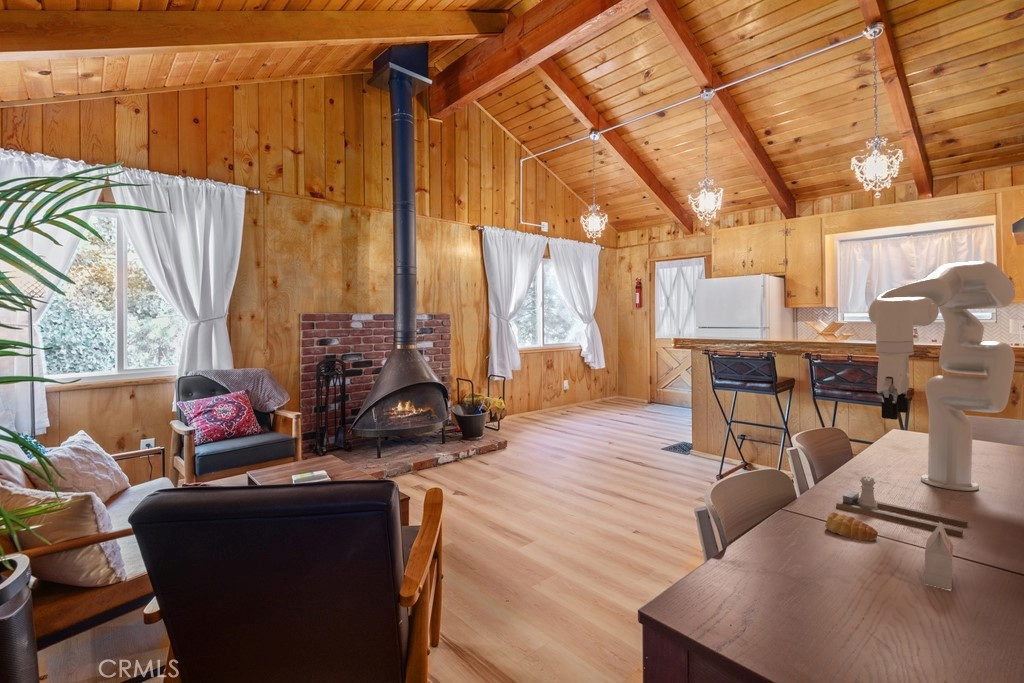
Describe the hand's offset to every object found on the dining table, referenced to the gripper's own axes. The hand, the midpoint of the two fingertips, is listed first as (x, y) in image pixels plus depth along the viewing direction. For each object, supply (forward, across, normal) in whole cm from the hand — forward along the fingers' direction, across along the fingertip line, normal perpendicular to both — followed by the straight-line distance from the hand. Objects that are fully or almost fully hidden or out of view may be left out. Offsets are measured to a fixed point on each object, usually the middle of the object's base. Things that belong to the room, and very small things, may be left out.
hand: (894, 415), depth 127 cm
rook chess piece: (+23, +8, -4) cm, 25 cm away
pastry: (+23, +28, -3) cm, 36 cm away
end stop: (+23, +8, -8) cm, 26 cm away
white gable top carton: (+22, +40, +15) cm, 48 cm away
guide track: (+23, +8, +2) cm, 25 cm away
